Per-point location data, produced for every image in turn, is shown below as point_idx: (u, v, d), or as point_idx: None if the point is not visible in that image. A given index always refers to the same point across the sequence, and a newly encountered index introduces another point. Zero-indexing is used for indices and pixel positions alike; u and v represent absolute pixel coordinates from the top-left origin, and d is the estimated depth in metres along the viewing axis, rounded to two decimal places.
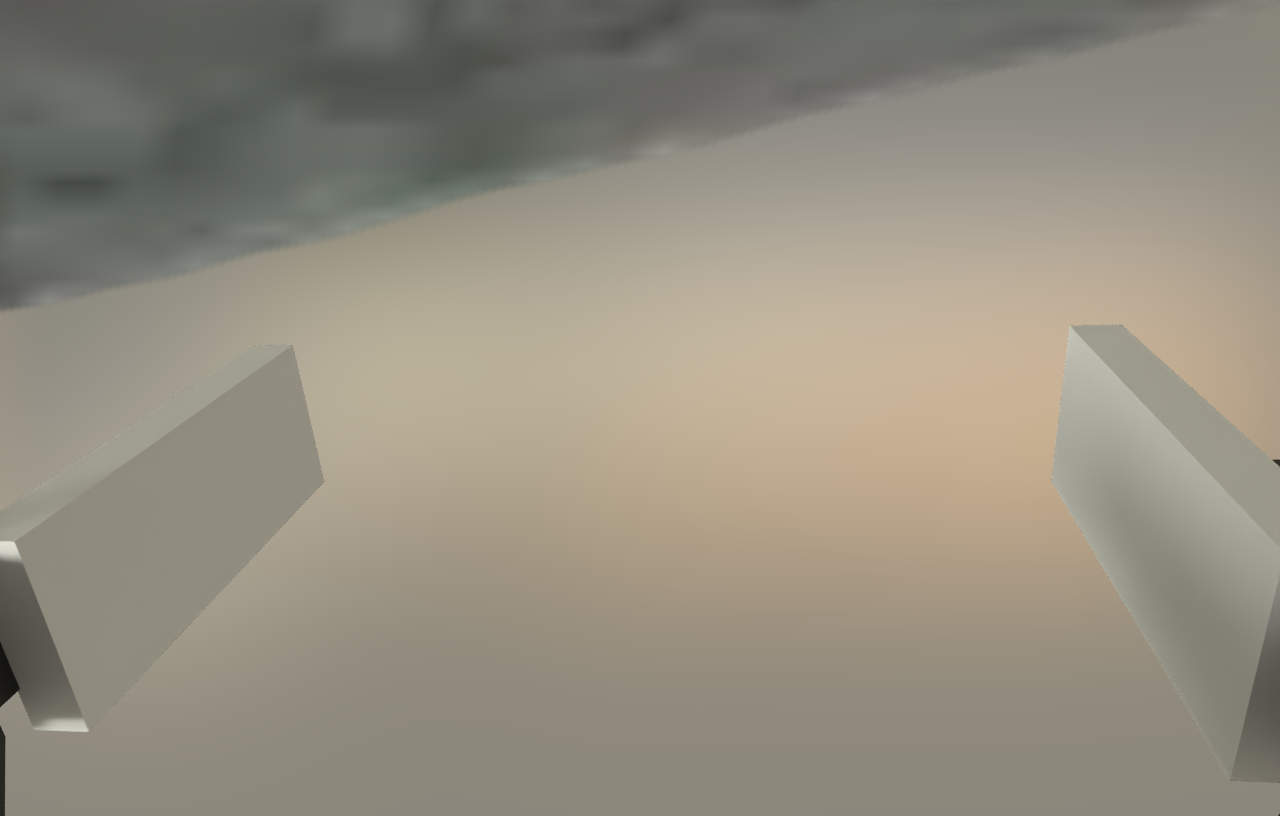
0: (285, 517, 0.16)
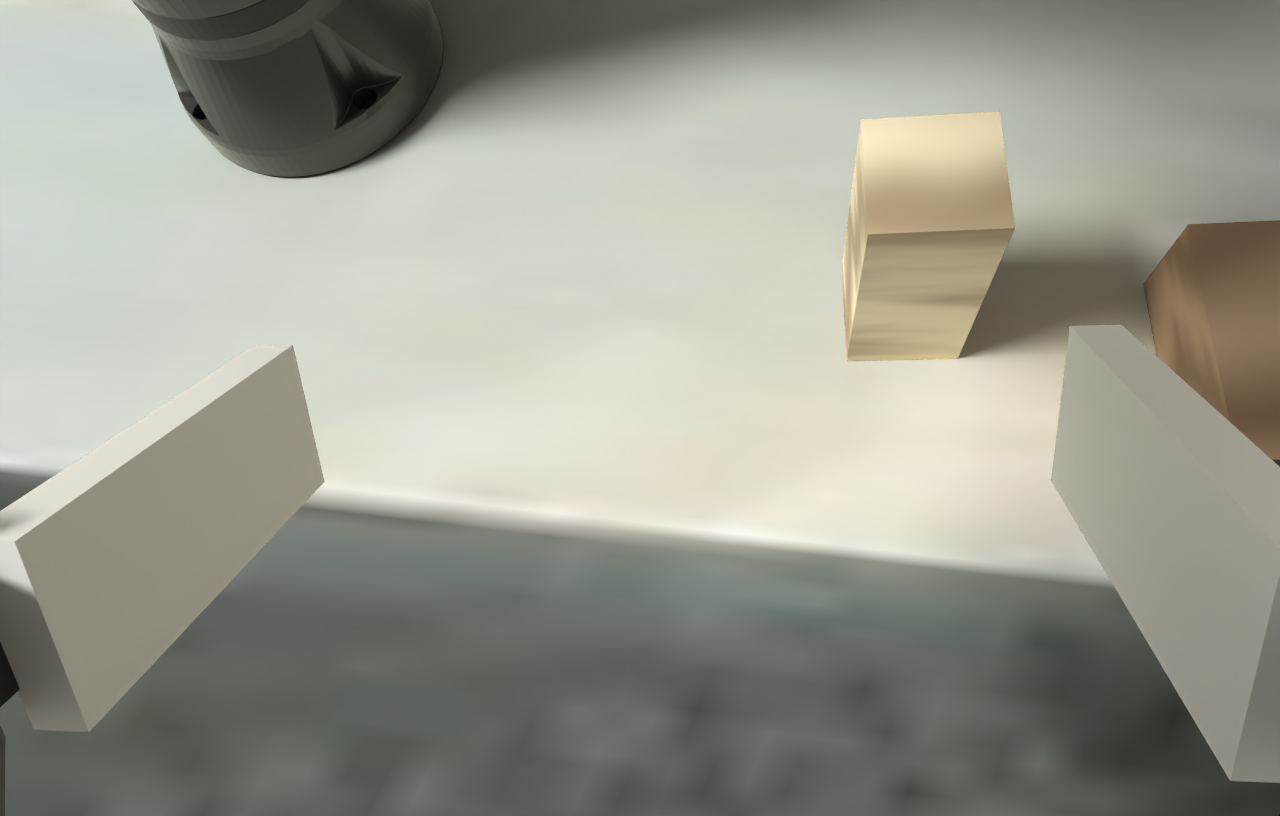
0: (285, 517, 0.16)
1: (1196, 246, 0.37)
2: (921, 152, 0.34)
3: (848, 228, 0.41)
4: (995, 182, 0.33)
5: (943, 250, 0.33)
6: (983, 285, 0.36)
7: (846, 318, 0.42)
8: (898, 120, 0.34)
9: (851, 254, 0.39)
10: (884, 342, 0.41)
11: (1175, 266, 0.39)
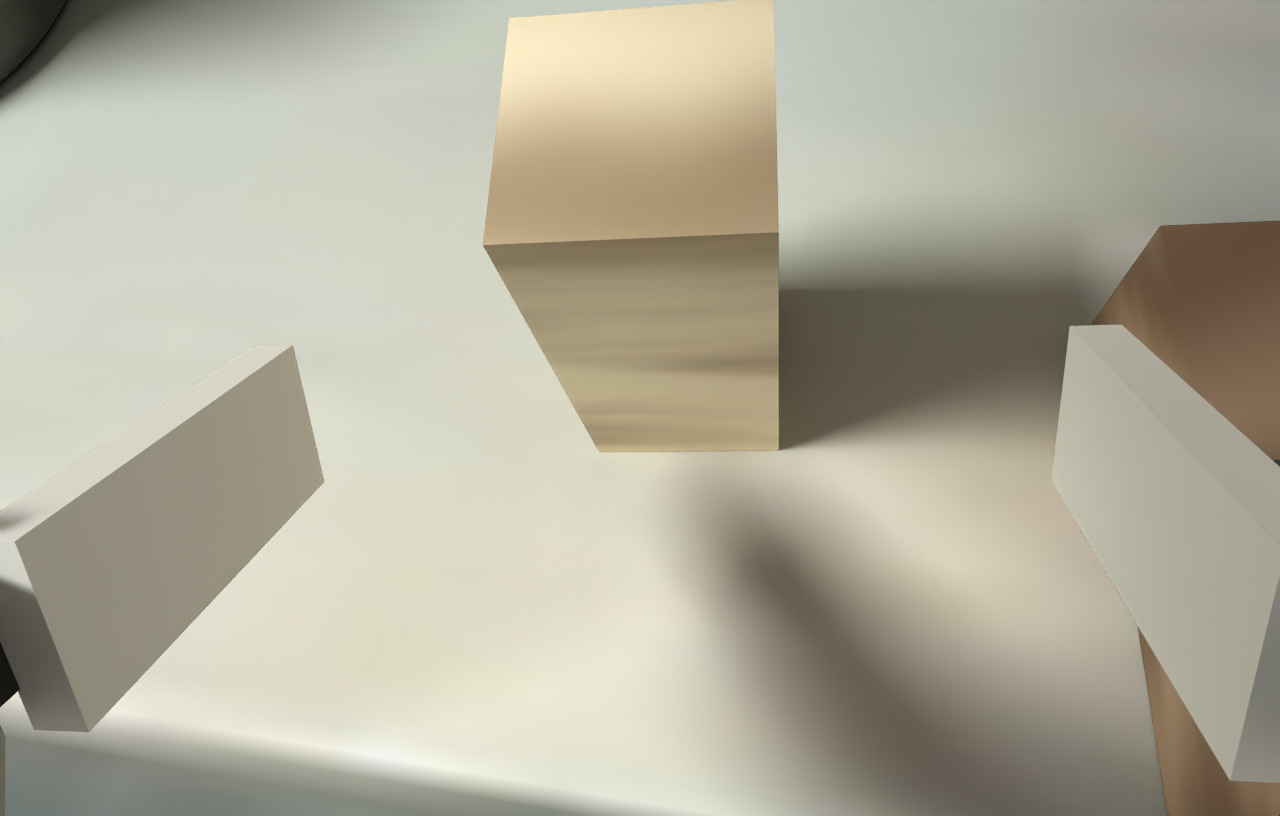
0: (285, 517, 0.16)
1: (1174, 266, 0.20)
2: (612, 79, 0.17)
3: None
4: (749, 136, 0.16)
5: (657, 278, 0.17)
6: (766, 341, 0.19)
7: None
8: (579, 18, 0.17)
9: None
10: (643, 428, 0.24)
11: (1139, 300, 0.22)
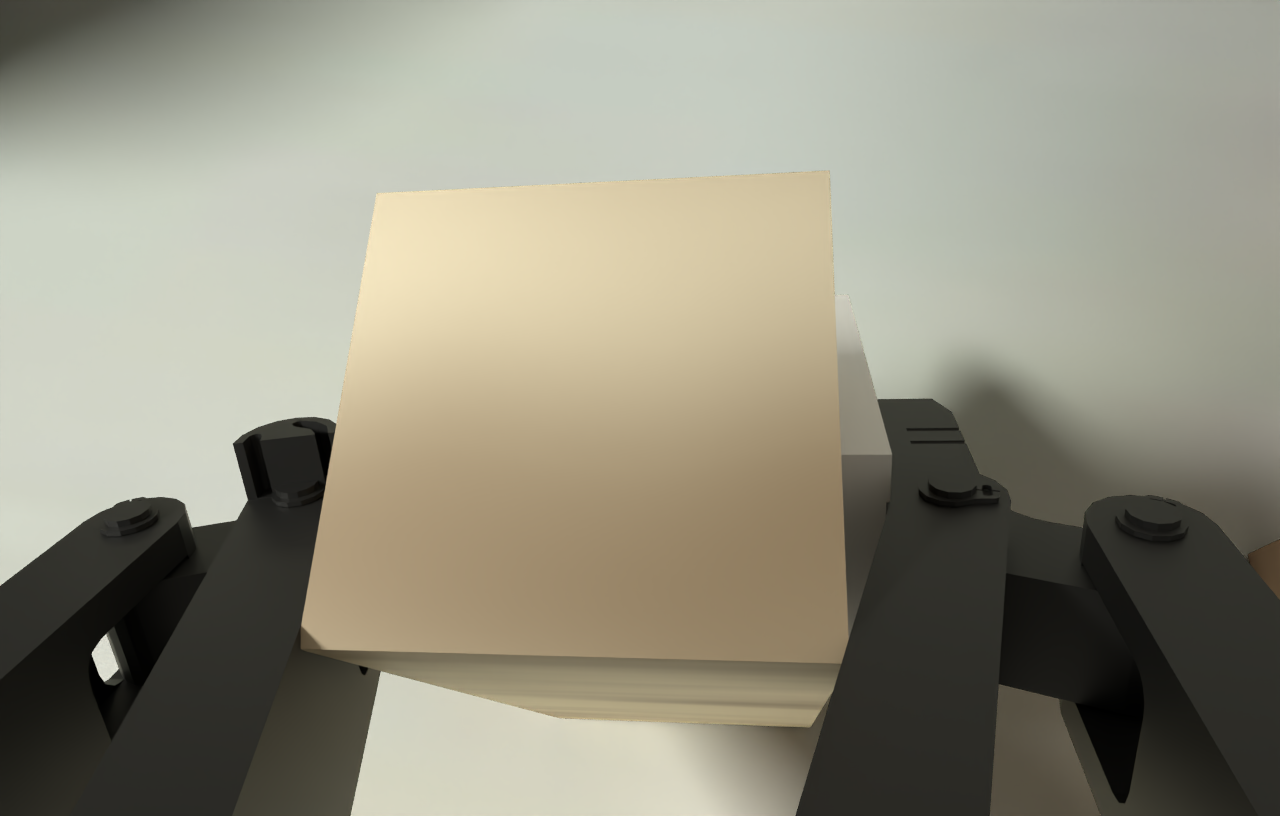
0: None
1: None
2: (545, 317, 0.09)
3: None
4: (789, 449, 0.09)
5: (622, 673, 0.09)
6: (807, 700, 0.12)
7: None
8: (493, 197, 0.10)
9: None
10: (619, 715, 0.17)
11: None
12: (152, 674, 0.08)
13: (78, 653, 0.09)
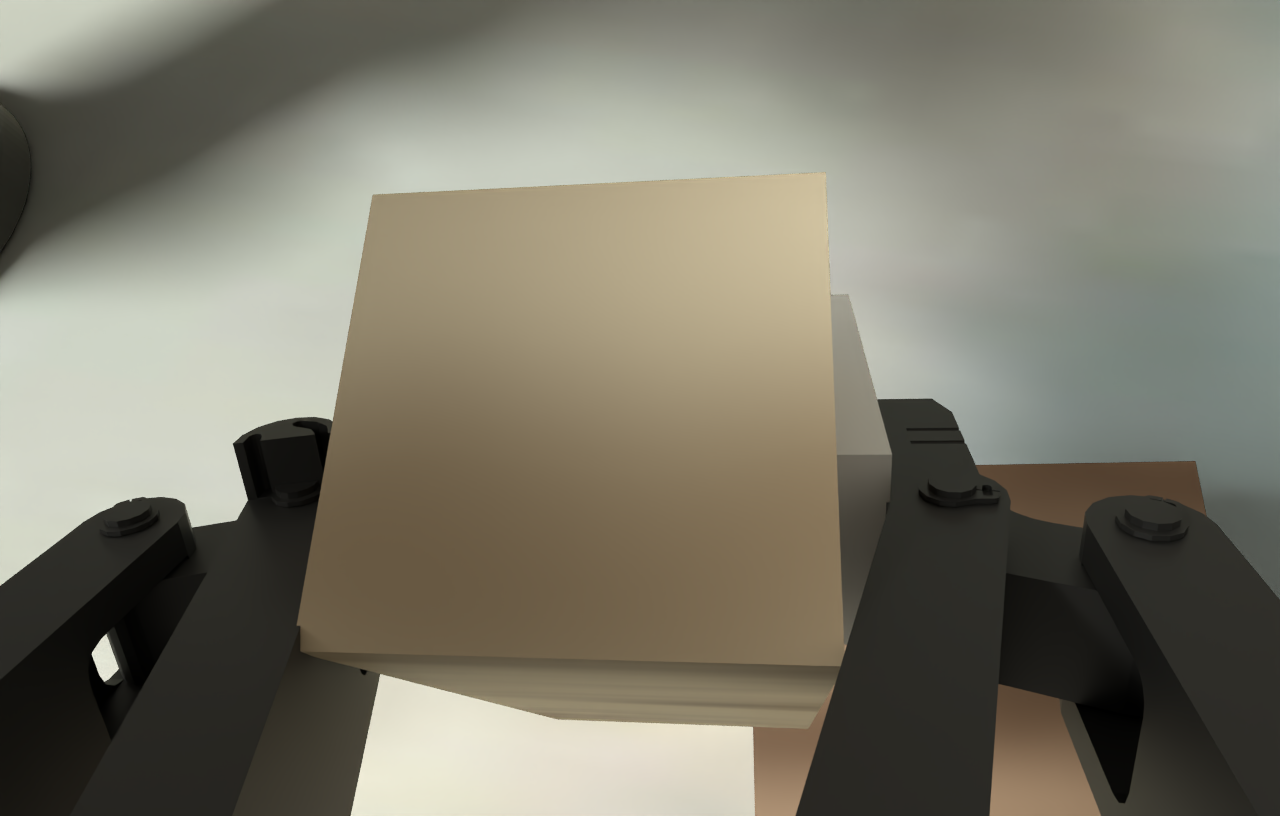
0: None
1: None
2: (541, 319, 0.09)
3: None
4: (785, 451, 0.09)
5: (618, 674, 0.09)
6: (804, 702, 0.12)
7: None
8: (489, 198, 0.10)
9: None
10: (616, 716, 0.17)
11: None
12: (152, 674, 0.08)
13: (79, 652, 0.09)
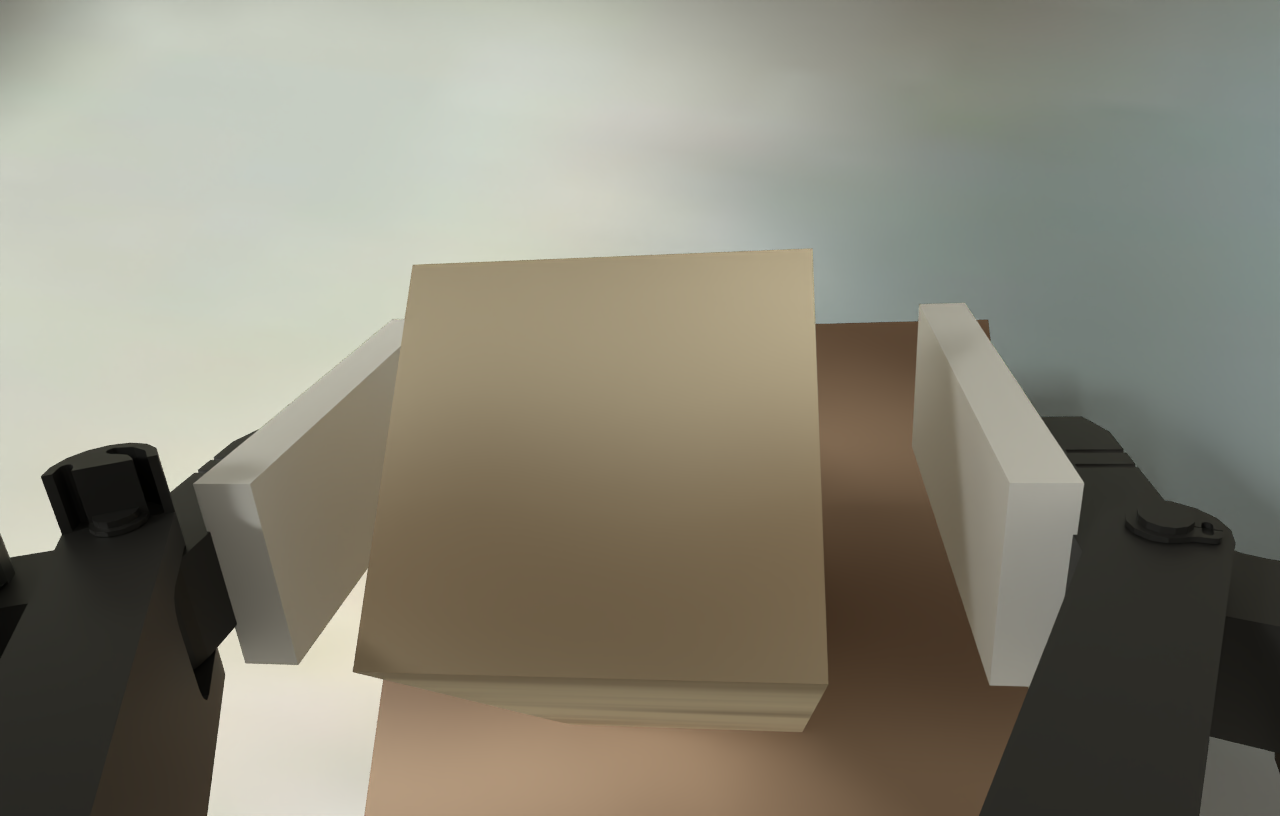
0: None
1: None
2: (564, 379, 0.11)
3: None
4: (777, 497, 0.10)
5: (633, 690, 0.11)
6: (796, 710, 0.13)
7: None
8: (517, 269, 0.11)
9: None
10: (624, 721, 0.18)
11: None
12: None
13: None
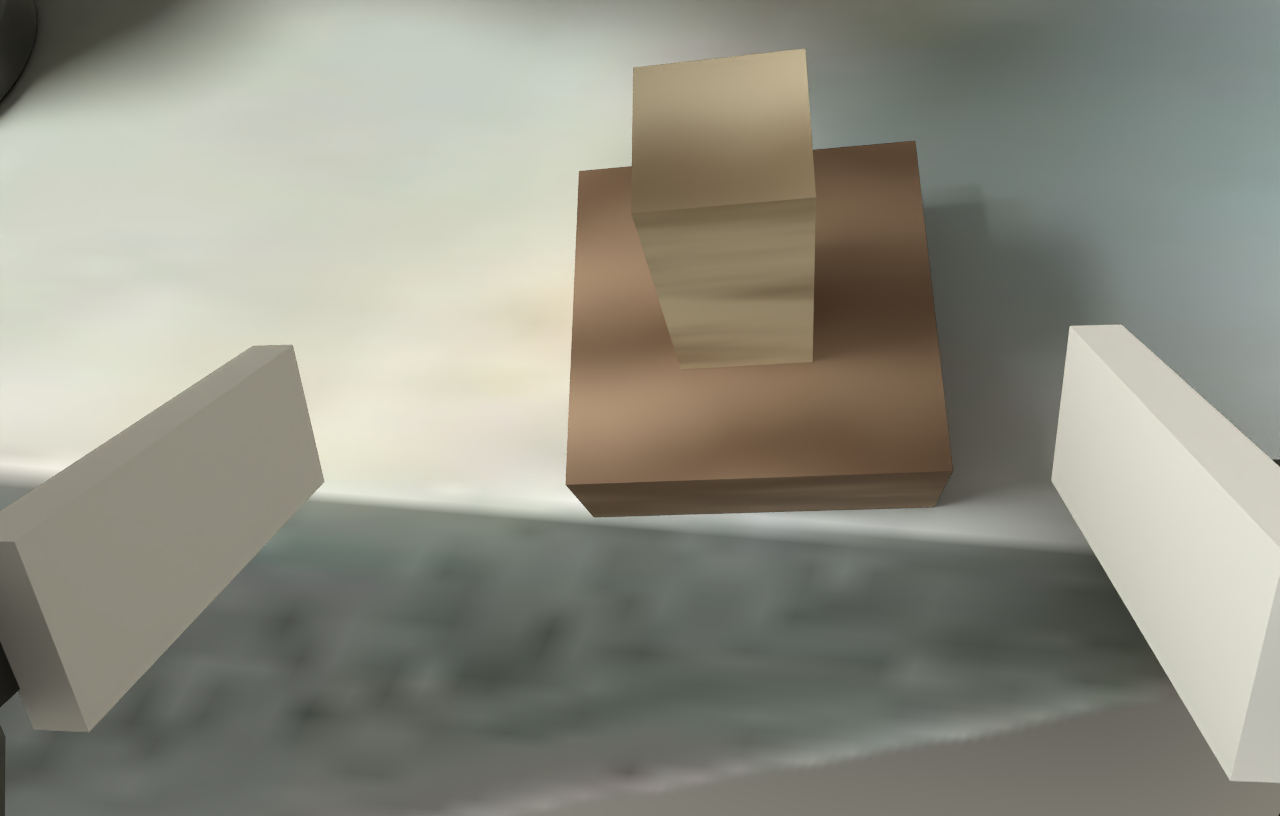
0: (285, 517, 0.16)
1: (581, 191, 0.39)
2: (704, 105, 0.26)
3: None
4: (794, 139, 0.25)
5: (737, 230, 0.26)
6: (806, 273, 0.28)
7: None
8: (679, 65, 0.27)
9: None
10: (716, 347, 0.33)
11: None
12: None
13: None
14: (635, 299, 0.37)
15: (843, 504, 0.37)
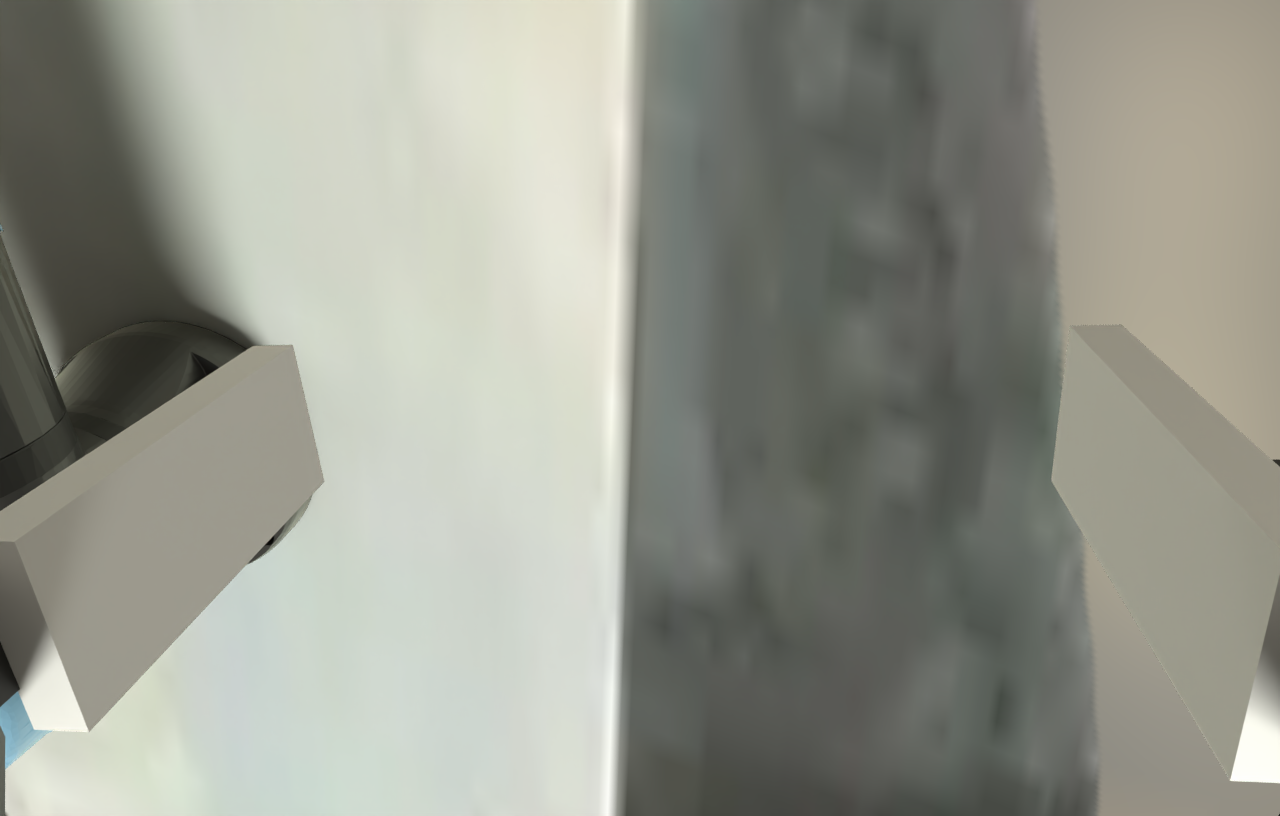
0: (285, 517, 0.16)
1: None
2: None
3: None
4: None
5: None
6: None
7: None
8: None
9: None
10: None
11: None
12: None
13: None
14: None
15: None
